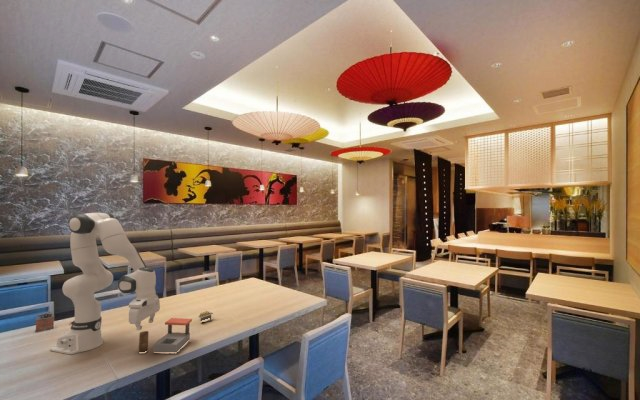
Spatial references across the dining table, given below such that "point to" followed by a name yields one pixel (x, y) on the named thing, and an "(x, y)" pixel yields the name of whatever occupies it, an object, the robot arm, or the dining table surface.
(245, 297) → the dining table surface
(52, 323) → the brick wall piece
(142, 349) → the walnut peg
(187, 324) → the socket stand
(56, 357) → the dining table surface
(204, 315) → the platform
